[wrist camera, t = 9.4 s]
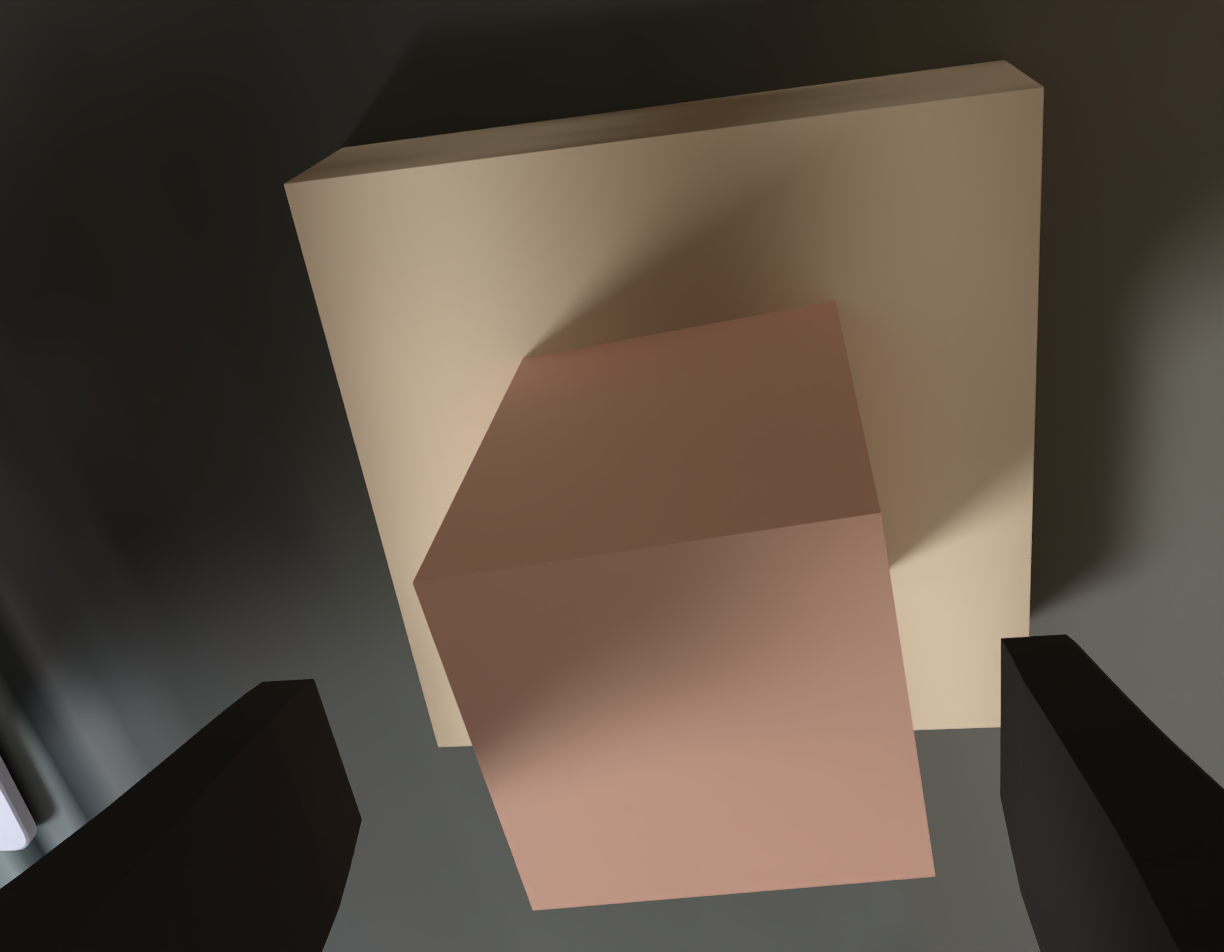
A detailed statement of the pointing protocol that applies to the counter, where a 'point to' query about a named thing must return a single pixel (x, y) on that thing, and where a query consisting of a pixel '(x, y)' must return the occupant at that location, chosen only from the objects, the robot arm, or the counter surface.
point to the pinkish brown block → (682, 621)
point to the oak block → (717, 311)
